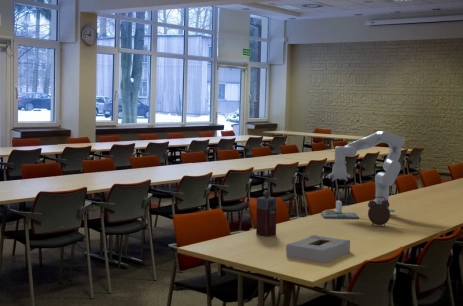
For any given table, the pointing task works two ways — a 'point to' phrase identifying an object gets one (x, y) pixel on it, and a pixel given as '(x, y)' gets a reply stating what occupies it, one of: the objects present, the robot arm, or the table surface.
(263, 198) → the maroon square bottle
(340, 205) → the peg
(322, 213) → the plate
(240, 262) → the table surface
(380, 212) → the alarm clock
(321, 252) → the box
